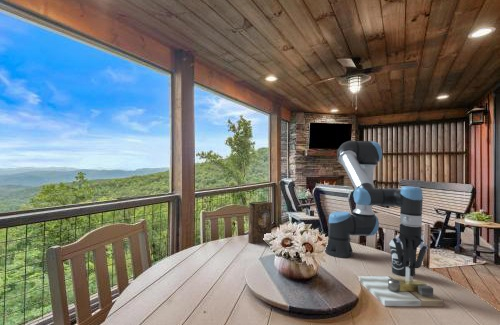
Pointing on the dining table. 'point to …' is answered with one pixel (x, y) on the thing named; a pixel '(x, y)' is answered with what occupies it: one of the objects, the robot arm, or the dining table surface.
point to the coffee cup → (396, 260)
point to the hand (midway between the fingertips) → (408, 282)
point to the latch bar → (404, 285)
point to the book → (259, 221)
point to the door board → (399, 293)
